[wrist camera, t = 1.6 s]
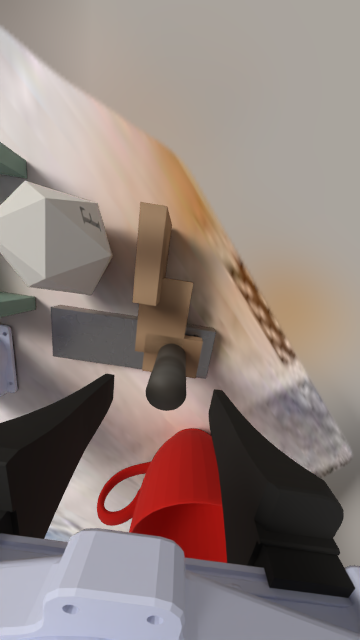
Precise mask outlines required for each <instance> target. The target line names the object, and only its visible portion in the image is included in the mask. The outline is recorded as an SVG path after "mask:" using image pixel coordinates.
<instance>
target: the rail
mask: <svg viewBox="0 0 360 640" xmlns="http://www.w3.org/2000/svg"><path fill="white" fill-rule="evenodd" d="M51 319H52V342H53V356H55V357H62V358H69V359H76V360H83V361H90V362H96V363H103V364H110V365H117V366H124V367H130V368H137V369H142V367H143V358H144V352H138V351H135V343H136V332H137V321H138V317H137V316H131V315H124V314H117V313H111V312H104V311H97V310H91V309H84V308H78V307H71V306H64V305H58V306H54V307H51ZM215 334H216V331H215V329H214V328H210V327H203V326H197V325H190V324H186V330H185V335H187V336H194V337H200V338H202V340H203V344H202V349H201V354H200V359H199V364H198V369H197V374H196V377H198V378H205V379H206V376H207V371H208V367H209V362H210V357H211V353H212V348H213V344H214V339H215Z"/></svg>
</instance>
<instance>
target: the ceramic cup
mask: <svg viewBox="0 0 360 640" xmlns="http://www.w3.org/2000/svg"><path fill="white" fill-rule="evenodd" d="M144 473H146V474H145V477H144V480H143V483H142V486H141V488H140V489H139V491H138V493H137V495H136V496H135V498H134V499H133V501H132V502H131V503H130V504H129V505H128V506H127V507H125V508H124V509H122V510H120V511H116V512H110V511H108V510H106V509H105V507H104V501H105V499H106V496H107V495H108V493H109V492H110V491H111V490H112V488H113V487H114V486H115V485H117V484H118V483H119V482H121V481H122V480H124V479H126V478H129V477H132V476H135V475H139V474H144ZM97 513H98V517H99V519H100V520H101V522H103V523H104V524H106V525H110V526H114V525H119V524H122V523H124V522H126V521H128V520H129V519H131V518H132V522H131V526H130V531H129V532H130V533H137V534H145V535H152V536H160V537H164V538H167V539H170V540H173V541H174V542H175V543H176V544H178V545H179V546H180V547H181V548H182V550H183V551H184V557H185V558H192V559H200V560H207V561H215V562H223V563H227V554H226V541H225V529H224V518H223V508H222V498H221V488H220V480H219V472H218V466H217V460H216V455H215V451H214V446H213V441H212V436H210V435H209V434H208V433H206V432H205V431H202V430H200V429H192V428H191V429H185V430H182V431H180V432H178V433H176V434H175V435H174V436H173V437H172V438H170V439H169V440H168V441H166V442H165V443H164V444H163V446H162V447H161V448H160V449H159V450H158V452H157V453H156V455H155V456H154V458H153V460H152V462H147V463H142V464H138V465H134V466H131V467H128V468H125V469H123V470H121V471H119V472H118V473H117V474H115V475H114V476H113V477H112V478H111V479H110V480H109V481H108V482H107V483H106V484H105V486H104V487H103V489H102V491H101V493H100V495H99V498H98V503H97Z"/></svg>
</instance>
